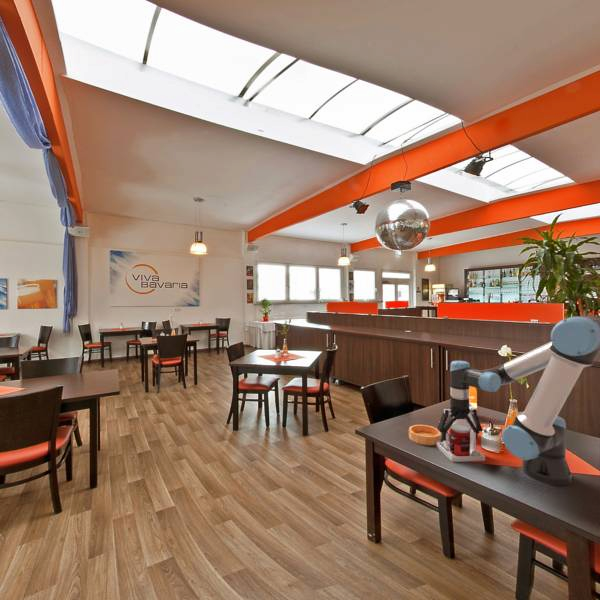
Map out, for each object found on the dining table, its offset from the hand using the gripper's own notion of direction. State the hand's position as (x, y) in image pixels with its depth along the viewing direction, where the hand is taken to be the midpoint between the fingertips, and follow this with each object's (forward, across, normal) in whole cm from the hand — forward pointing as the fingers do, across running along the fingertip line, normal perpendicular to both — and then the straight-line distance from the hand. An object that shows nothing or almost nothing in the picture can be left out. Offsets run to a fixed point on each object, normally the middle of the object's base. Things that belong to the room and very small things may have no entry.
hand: (459, 447), depth 144 cm
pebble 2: (+3, -4, +4) cm, 7 cm away
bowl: (+3, +9, -15) cm, 18 cm away
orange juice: (+3, -27, -43) cm, 51 cm away
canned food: (+3, 0, 0) cm, 3 cm away
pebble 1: (+3, +4, -4) cm, 7 cm away
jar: (+3, -11, -18) cm, 21 cm away
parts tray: (+3, 0, 0) cm, 3 cm away
